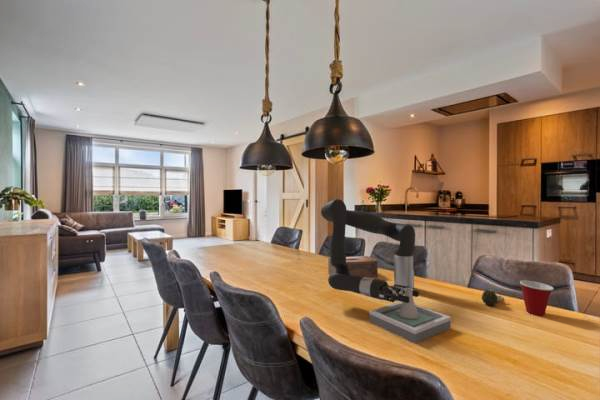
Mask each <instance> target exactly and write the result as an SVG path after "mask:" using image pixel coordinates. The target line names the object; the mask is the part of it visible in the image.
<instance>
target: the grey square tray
mask: <svg viewBox="0 0 600 400" xmlns="http://www.w3.org/2000/svg"><path fill="white" fill-rule="evenodd" d="M402 303H403V302H401V301H397V302H393V303H391V304H387V305H385V306H380V307H377V308H374V309H370V310H369V322H370V323H371V324H374V325H376V326H377V327H380V328H382V329H384V330H386V331H388V332H390V333H392V334H394V335H396V336H398V337H401V338H403V339H405V340H406V341H409V342H412V343H413V344H417V343H421V342H422V341H424V339H425V340H427V339H429V338H431V336H432V337H434V336H436V335H438V333H439V334H441V333H443V332H446V331H449V330H450V328H451V327H452V325H451V319H452V317H451V316H449V315H447V314H444V313H441V312H437V311H434V310H433V309H432V310H431V309H428V308H426V307H423V306H421V305H418V304H415V306H416V309H417V312H418V315H419V317H418V319H406V318H402V317H401V316H399V315H398V314H399V311H400V309H401V306H402Z"/></svg>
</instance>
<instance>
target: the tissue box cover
mask: <svg viewBox="0 0 600 400" xmlns="http://www.w3.org/2000/svg"><path fill="white" fill-rule="evenodd" d="M327 261H328V262H327V263H328V275H329V276H330V275H331V274H332V273H335V272H336V269H335V267H334V266H332V265H331V262H330V257H328V260H327ZM378 261H379V260H378V259H376V258H373V257H370V256H367V255H359V256H356V255H355V256H346V263H347V266H348V269H349V272H350V276H361V277H369V278H379V277H378V276H379V275H378V273H379V271H378V266H379V263H378Z"/></svg>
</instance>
